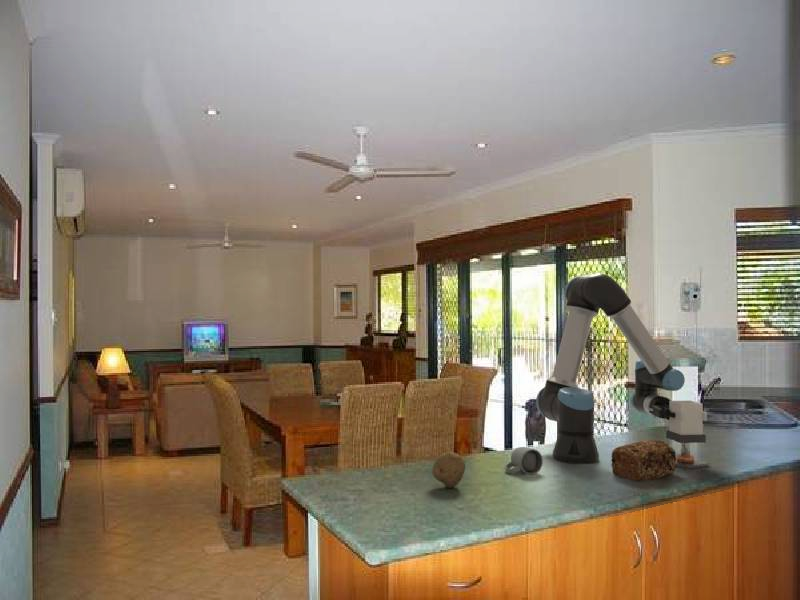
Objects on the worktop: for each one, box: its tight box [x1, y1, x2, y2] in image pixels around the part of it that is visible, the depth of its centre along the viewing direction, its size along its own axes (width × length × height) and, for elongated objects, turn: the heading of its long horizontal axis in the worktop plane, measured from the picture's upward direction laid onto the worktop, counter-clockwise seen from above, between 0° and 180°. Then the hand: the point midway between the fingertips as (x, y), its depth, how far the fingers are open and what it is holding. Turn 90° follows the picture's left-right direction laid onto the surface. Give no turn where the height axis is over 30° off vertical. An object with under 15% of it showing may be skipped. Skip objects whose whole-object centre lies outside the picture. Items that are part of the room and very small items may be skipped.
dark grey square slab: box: [665, 429, 707, 444], centre depth 222 cm, size 9×9×2 cm
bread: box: [610, 439, 677, 482], centre depth 207 cm, size 19×11×10 cm, turn 123°
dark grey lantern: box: [675, 443, 710, 470], centre depth 222 cm, size 10×10×12 cm
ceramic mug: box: [504, 446, 544, 476], centre depth 209 cm, size 11×8×8 cm
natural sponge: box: [432, 451, 466, 489], centre depth 190 cm, size 9×9×10 cm
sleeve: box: [668, 400, 704, 435], centre depth 222 cm, size 7×7×10 cm
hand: (693, 416), depth 217 cm, fingers closed on sleeve, 7 cm apart
